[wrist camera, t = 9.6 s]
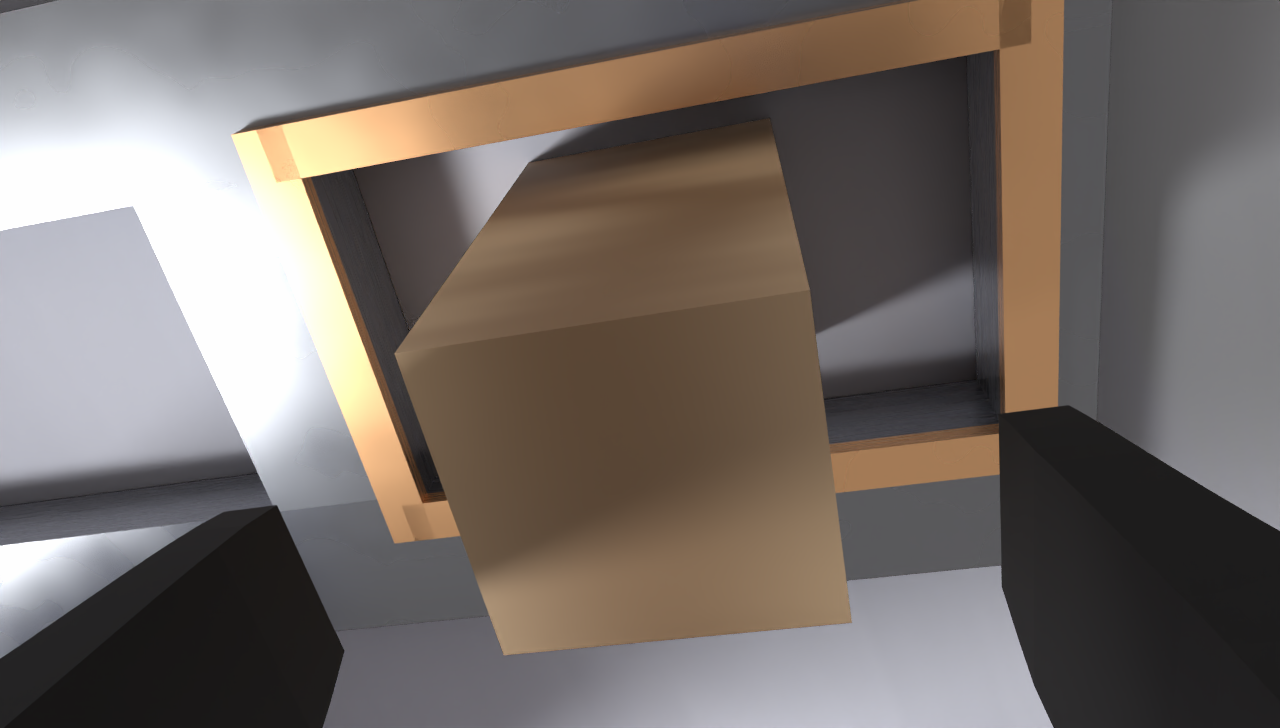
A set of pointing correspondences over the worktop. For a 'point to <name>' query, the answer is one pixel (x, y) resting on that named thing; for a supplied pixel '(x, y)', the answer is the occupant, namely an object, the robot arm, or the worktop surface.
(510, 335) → the oak peg
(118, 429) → the worktop surface
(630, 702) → the worktop surface
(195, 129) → the rail plate
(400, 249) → the worktop surface
